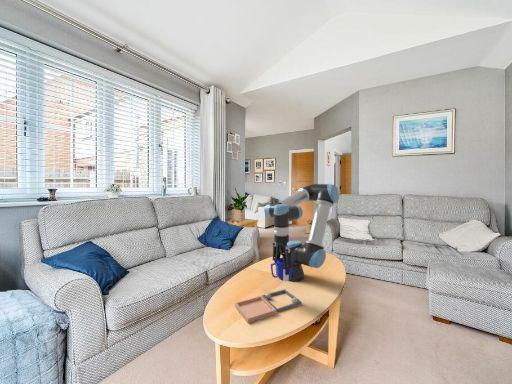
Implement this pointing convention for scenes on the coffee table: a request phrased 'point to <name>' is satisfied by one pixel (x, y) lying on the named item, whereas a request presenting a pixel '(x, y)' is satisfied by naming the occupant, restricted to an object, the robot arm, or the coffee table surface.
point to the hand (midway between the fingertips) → (281, 277)
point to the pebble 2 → (294, 300)
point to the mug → (281, 269)
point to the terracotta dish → (255, 309)
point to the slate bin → (283, 306)
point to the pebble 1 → (267, 295)
